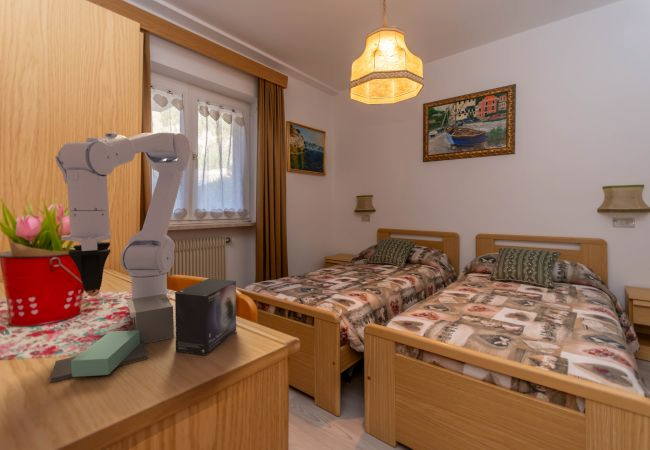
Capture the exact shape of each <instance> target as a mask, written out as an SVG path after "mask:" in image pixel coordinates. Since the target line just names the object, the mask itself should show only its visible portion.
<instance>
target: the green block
mask: <svg viewBox="0 0 650 450" xmlns="http://www.w3.org/2000/svg"><path fill="white" fill-rule="evenodd" d="M139 344H140V334H139V330H134V329H132V330H119V331H117V330H114V331H113V330H112V331H108V332H107V333H106V334H105V335H103V336H102V337H100V339H97V341H95V342H94V343H93V344H91V345H90V346H88V347H87V348H86V349H84V350H83V351H82V352H80V354H78V355H76V356H77V357H76V356H74V357H75V358H74V359H73V360H71V367H72V378H74V377H91V376H93V377H94V376H108V375H110V374H111V373H112V372H113V370H115V369H116V367H118V365H119V364H120V363H121V362H122V361H123V360H124V359H125V358H126V357H127V356H128V355H129V354H130V353H131V352H132V351H133V350H134V349H135V348H136V347H137V346H138V345H139ZM119 366H120V365H119Z"/></svg>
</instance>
